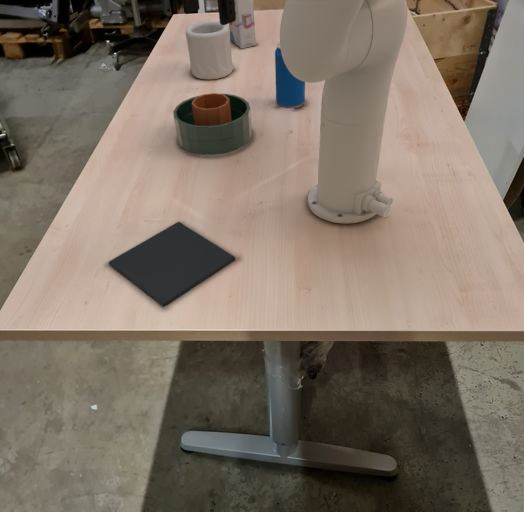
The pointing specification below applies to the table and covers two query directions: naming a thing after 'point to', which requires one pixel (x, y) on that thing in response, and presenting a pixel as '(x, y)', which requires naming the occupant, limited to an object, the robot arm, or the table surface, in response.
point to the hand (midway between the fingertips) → (209, 17)
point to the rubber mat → (171, 262)
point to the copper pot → (211, 110)
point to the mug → (209, 49)
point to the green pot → (213, 129)
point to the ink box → (243, 24)
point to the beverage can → (287, 84)
